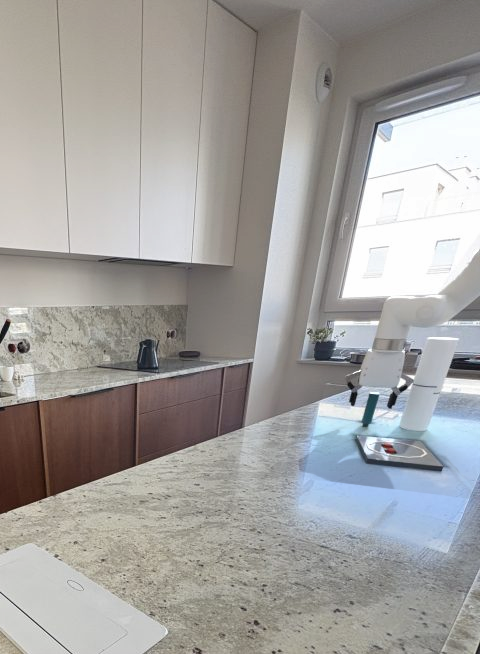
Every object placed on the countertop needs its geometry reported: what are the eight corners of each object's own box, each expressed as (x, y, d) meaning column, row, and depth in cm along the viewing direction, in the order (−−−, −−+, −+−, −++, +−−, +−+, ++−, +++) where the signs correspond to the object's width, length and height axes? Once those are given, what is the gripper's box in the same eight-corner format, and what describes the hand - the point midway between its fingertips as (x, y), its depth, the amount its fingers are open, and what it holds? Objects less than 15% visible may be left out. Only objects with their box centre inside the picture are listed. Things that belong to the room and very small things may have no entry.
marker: (369, 425, 129) (379, 392, 125) (370, 427, 127) (380, 394, 123) (359, 424, 130) (368, 391, 126) (361, 426, 128) (370, 393, 124)
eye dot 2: (393, 453, 105) (394, 448, 105) (394, 455, 104) (396, 451, 103) (384, 452, 106) (386, 447, 105) (386, 454, 104) (387, 450, 104)
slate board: (419, 445, 112) (420, 440, 111) (441, 471, 96) (443, 466, 95) (355, 439, 117) (356, 435, 117) (366, 463, 101) (367, 458, 100)
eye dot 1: (389, 448, 109) (391, 443, 108) (391, 450, 107) (392, 445, 107) (381, 447, 109) (382, 442, 109) (382, 449, 108) (384, 444, 107)
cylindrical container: (394, 423, 131) (422, 337, 119) (420, 424, 129) (450, 337, 118) (404, 430, 124) (434, 339, 113) (432, 431, 123) (465, 339, 112)
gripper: (421, 345, 118) (401, 406, 126) (351, 343, 124) (336, 401, 132) (428, 348, 112) (407, 411, 120) (355, 345, 118) (339, 406, 126)
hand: (370, 406), depth 126 cm, fingers open, 9 cm apart
